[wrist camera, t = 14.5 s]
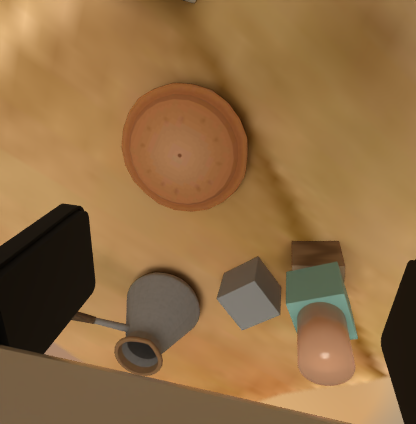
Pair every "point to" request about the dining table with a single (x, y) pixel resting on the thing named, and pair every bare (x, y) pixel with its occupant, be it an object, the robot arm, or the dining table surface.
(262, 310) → the block
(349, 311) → the tower top
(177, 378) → the dining table surface
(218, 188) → the pie
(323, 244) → the block
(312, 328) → the pink rounded piece
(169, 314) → the coffee pot
